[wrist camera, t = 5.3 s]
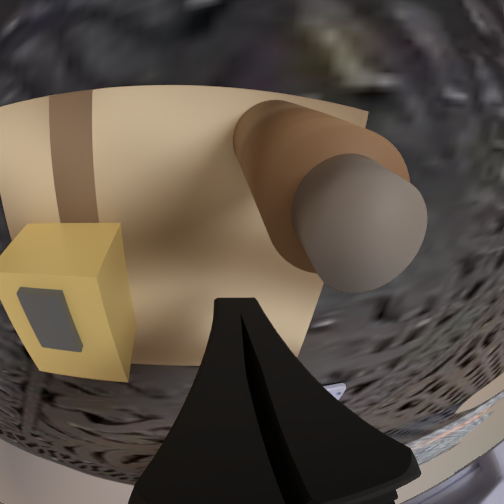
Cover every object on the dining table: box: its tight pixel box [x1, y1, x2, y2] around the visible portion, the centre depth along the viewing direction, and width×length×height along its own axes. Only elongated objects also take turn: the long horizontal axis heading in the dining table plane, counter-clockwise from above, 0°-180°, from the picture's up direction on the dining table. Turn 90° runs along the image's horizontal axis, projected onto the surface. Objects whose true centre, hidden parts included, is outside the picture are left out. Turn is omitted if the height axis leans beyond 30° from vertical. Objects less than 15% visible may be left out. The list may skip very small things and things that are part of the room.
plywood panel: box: [0, 85, 368, 366], centre depth 11 cm, size 12×13×1 cm
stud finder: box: [0, 223, 137, 382], centre depth 9 cm, size 5×4×3 cm
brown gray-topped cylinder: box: [233, 100, 427, 293], centre depth 6 cm, size 3×3×6 cm
